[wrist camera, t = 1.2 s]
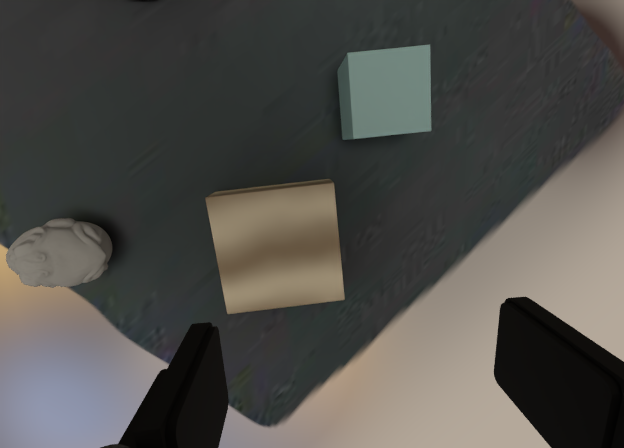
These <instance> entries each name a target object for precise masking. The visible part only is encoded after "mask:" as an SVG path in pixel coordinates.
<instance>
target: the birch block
mask: <svg viewBox="0 0 624 448" xmlns="http://www.w3.org/2000/svg"><path fill="white" fill-rule="evenodd" d="M205 199H206V204H207V209H208V215H209V220H210V225H211V230H212V236H213V241H214V246H215V251H216V257H217V262H218V267H219V272H220V278H221V283H222V288H223V293H224V299H225V304H226V309H227V314H233V313H241V312H249V311H257V310H265V309H274V308H282V307H290V306H298V305H306V304H314V303H322V302H331V301H339V300H345V298H344V287H343V276H342V265H341V254H340V244H339V233H338V222H337V211H336V200H335V190H334V183H333V182H332V181H331V179H322V180H313V181H304V182H296V183H287V184H278V185H270V186H261V187H252V188H243V189H235V190H226V191H217V192H214V193H212V194H211V195H209V196H207V197H206V198H205Z"/></svg>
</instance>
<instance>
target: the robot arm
mask: <svg viewBox="0 0 624 448" xmlns="http://www.w3.org/2000/svg"><path fill="white" fill-rule="evenodd" d="M494 376H495V379H496V381H497V383H498V385H499V386H500V387H501V388H502V389H503V391H504V392H505V393H506V394H507V395H508V396H509V398H510V399H511V400H512V401H513V402H514V404H515V405H516V406H517V407H518V408H519V410H520V411H521V412H522V413H523V414H524V416H525V417H526V418H527V419H528V420H529V421H530V423H531V424H532V425H533V426H534V428H535V429H536V430H537V431H538V432H539V434H540V435H541V436H542V437H543V438H544V440H545V441H546V442H547V443H548V444H549V445H550V447H551V448H624V362H623V361H622V360H620V359H619V358H617V357H616V356H614V355H612V354H611V353H610V352H608V351H607V350H605V349H604V348H602V347H601V346H599V345H598V344H596V343H595V342H593V341H592V340H590V339H589V338H587V337H586V336H584V335H583V334H581V333H580V332H578V331H577V330H575V329H574V328H573V327H571V326H570V325H568V324H567V323H565V322H563V321H562V320H561V319H559V318H557V317H556V316H555V315H553V314H552V313H550V312H549V311H547V310H546V309H544V308H543V307H541V306H540V305H538V304H537V303H535V302H534V301H532V300H531V299H529V298H527V297H516V298H508V299H506V300H505V302H504V303H503V304H501V308H500V315H499V326H498V335H497V345H496V357H495V365H494ZM227 409H228V391H227V384H226V378H225V371H224V364H223V357H222V350H221V344H220V337H219V330H218V327H217V326H216V327H212V324H211V323H210V322H209V323H197V324H192V325H191V326H190V328H189V330H188V332H187V334H186V336H185V337H184V339H183V341H182V343H181V345H180V346H179V348H178V350H177V352H176V354H175V356H174V357H173V359H172V361H171V363H170V365H169V367H168V368H167V369H164V370H161V371H160V373H159V374H158V375H157V377H156V379H155V381H154V382H153V384H152V386H151V388H150V389H149V391H148V393H147V395H146V396H145V398H144V400H143V402H142V403H141V405H140V407H139V408H138V410H137V412H136V414H135V416H134V417H133V419H132V421H131V422H130V424H129V426H128V428H127V429H126V431H125V433H124V435H123V436H122V438H121V440H120V442H119V443H118V444H114V445H108V446H104V447H101V448H218V447H219V442H220V438H221V434H222V430H223V426H224V422H225V418H226V413H227Z"/></svg>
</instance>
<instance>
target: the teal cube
mask: <svg viewBox="0 0 624 448" xmlns="http://www.w3.org/2000/svg"><path fill="white" fill-rule="evenodd" d="M337 74H338V87H339V100H340V113H341V126H342V139H343V140H348V139H358V138H368V137H377V136H387V135H396V134H406V133H415V132H425V131H431V77H430V45H423V46H413V47H403V48H393V49H382V50H372V51H362V52H352V53H347V55H346V57H345V58H344V60H343V62H342V64H341V65H340V67H339V69H338V70H337Z"/></svg>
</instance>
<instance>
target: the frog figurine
mask: <svg viewBox="0 0 624 448" xmlns="http://www.w3.org/2000/svg"><path fill="white" fill-rule="evenodd" d="M111 254H112V242H111V239H110V237H109V235H108V234H107V233H106V232H105V231H104V230H103V229H102V228H101V227H99V226H97V225H95V224H93V223H89V222H83V221H75V220H74V219H72V218H66V219H63V218H58V219H53V220H50V221H48V222H47V223H46V224H45V225H44V226H41V227H36V228H33V229H31V230H29V231H27V232H25V233H23V234H22V235H21V236H20V237H19V238H18V239H17V240H16V241H15V242H14V243H13V244H12V246H11V247H10V248H9V250H8V252H7V254H6V261H7V264H8V266H9V268H11V269H12V270H13V271H15V273H17V274H19V277H20V279H21V282H22V283H24V284H25V285H29V286H34V287H37V286H40V285H42V286H45V287H47V286H48V287H52V288H53V287H56V286H61V287H63V286H64V287H66V286H75V285H78V284H81V283H82V282H84V283H87V282H90V281H92V280H94V279H97V278H98V277H100V275H101V274H102V273H103V271H105V270H107V268H108V264H107V262H108V261H109V259H110V257H111Z"/></svg>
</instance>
